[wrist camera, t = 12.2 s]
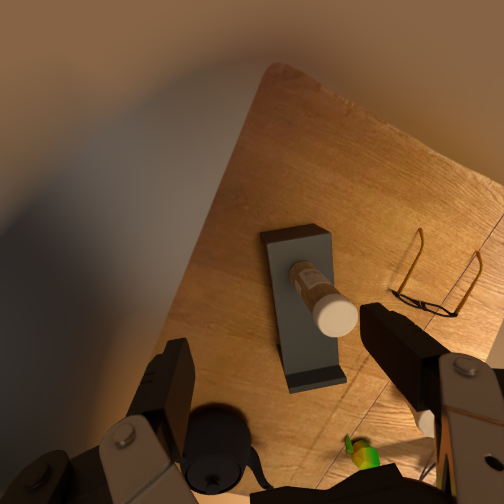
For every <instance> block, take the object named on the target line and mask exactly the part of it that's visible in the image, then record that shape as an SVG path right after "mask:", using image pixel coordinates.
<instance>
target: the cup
mask: <svg viewBox="0 0 504 504" xmlns="http://www.w3.org/2000/svg"><path fill="white" fill-rule="evenodd" d="M402 395H403V394H402ZM403 397H404V396H403ZM404 399H405V401H406V403H407V405H408V407H409V408H410V410H411V412H412V414H413V416H414V419H415V423H416V426H417V427H418V429H419V430H420V431H421V432H422V433H423V434H424V435H426V436H429V437H432V438H433V437H434V415H433V413H432V412H431V411H430V410H427V411H422V412H416V411H415V409H414V408H413V407H412V406H411V404H410V403H409V402H408V401H407V399H406V398H405V397H404Z"/></svg>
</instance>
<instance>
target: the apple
mask: <svg viewBox="0 0 504 504" xmlns="http://www.w3.org/2000/svg"><path fill="white" fill-rule="evenodd" d="M345 445H346V454H351V459H352V462H353V463H354V464H355V465H356V466H357V467H358V468H360V469H361V470H363V469H368V468H373V467H377V466H379V465H380V461H379V456H378V452H377V451H376V450H375V449H374V448H373V447H371V446H370V445H369V444H367V443H366V442H364V441H363V440H360V441H358V442H355V443H354V445H352V442H351V440H350V438H349V436H348V434H347V438H346V444H345Z"/></svg>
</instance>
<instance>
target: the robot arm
mask: <svg viewBox="0 0 504 504" xmlns="http://www.w3.org/2000/svg"><path fill="white" fill-rule="evenodd" d="M360 336H361V340H362V343H363V345H364V347H365V348H366V350H367V351H368V352H369V353H370V354H371V356H372V357H373V358H374V359H375V361H376V362H377V363H378V364H379V366H380V367H381V368H382V369H383V371H384V372H385V373H386V374H387V376H388V377H389V378H390V379H391V381H392V382H393V383H394V384H395V386H396V387H397V388H398V389H399V391H400V392H401V393H402V394H403V396H404V397H405V398H406V399H407V401H408V402H409V403H410V404H411V406H412V407H413V408H414V409H415V411H416V412H422V411H427V410H430V411H431V412H432V413H433V415H434V440H435V457H436V487H434V486H433V485H430V484H428V483H425V482H422V481H420V480H416V479H412V478H407V477H403V476H402V475H401V473H400V471H399V469H398V468H397V466H396V464H395V463H391V464H387V465H382V466H377V467H373V468H368V469H363V470H359V471H358V472H356V473H354V474H353V475H351V476H349V477H348V478H346V479H345V480H343V481H341V482H340V483H338V484H336V485H335V486H333V487H331V488H330V489H327V490H319V489H309V488H300V487H290V486H284V487H279V488H274V489H270V490H265V491H260V492H256V493H251V494H250V504H504V369H494V368H490V367H489V366H488V365H487V364H486V363H485V362H483V361H481V360H479V359H477V358H475V357H473V356H470V355H466V354H462V353H452V352H450V351H449V350H448V349H447V348H445V347H444V346H443V345H441V344H440V343H439V342H438V341H436V340H435V339H434V338H433V337H431V336H430V335H429V334H427V333H426V332H425V331H423V330H422V329H421V328H420V327H418V326H417V325H415V323H413V322H412V321H411V320H410V319H408V318H407V317H406V316H404V315H401V314H399V313H397V312H394V311H389V310H388V309H386V308H385V307H384V306H383V305H382V304H380V303H379V302H376V303H370V304H365V305H361V306H360ZM194 383H195V367H194V363H193V359H192V356H191V352H190V348H189V345H188V341H187V339H186V338H180V339H174V340H169V341H168V342H167V344H166V347H165V349H164V352H163V354H158V355H156V356H155V357H154V358H153V360H152V361H151V362H150V363H149V364H148V366H147V368H146V371H145V373H144V376H143V378H142V380H141V382H140V385H139V387H138V389H137V391H136V394H135V396H134V398H133V401H132V403H131V405H130V407H129V410H128V412H127V414H126V417H125V418H124V419H122V420H120V421H119V422H117V423H116V424H115V425H113V426H112V427H111V428H110V429H109V430H108V431H107V433H106V434H105V435H104V437H103V439H102V441H101V443H100V445H98V446H96V447H94V448H92V449H90V450H88V451H86V452H84V453H82V454H80V455H78V456H76V457H74V458H72V459H69V457H68V455H67V453H66V452H65V451H62V450H56V451H52V452H48V453H46V454H44V455H42V456H40V457H39V458H37V459H36V460H34V461H33V462H32V463H30V464H29V465H28V466H27V467H25V468H24V469H23V470H22V471H21V472H20V473H19V474H18V475H17V477H16V478H15V479H14V480H13V482H12V483H11V484H10V486H9V487H8V489H7V490H6V492H5V494H4V495H3V496H2V498H1V499H0V504H199V503H198V502H197V500H196V498H195V496H194V494H193V493H192V491H191V489H190V488H189V486H188V484H187V482H186V481H185V479H184V477H183V476H182V474H181V472H180V470H179V469H178V467H177V465H176V464H175V463H174V461H178V460H182V454H183V448H184V443H185V437H186V431H187V425H188V419H189V413H190V407H191V401H192V395H193V389H194Z"/></svg>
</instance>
